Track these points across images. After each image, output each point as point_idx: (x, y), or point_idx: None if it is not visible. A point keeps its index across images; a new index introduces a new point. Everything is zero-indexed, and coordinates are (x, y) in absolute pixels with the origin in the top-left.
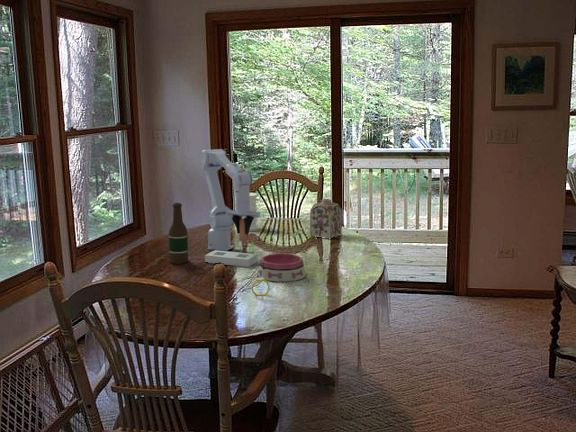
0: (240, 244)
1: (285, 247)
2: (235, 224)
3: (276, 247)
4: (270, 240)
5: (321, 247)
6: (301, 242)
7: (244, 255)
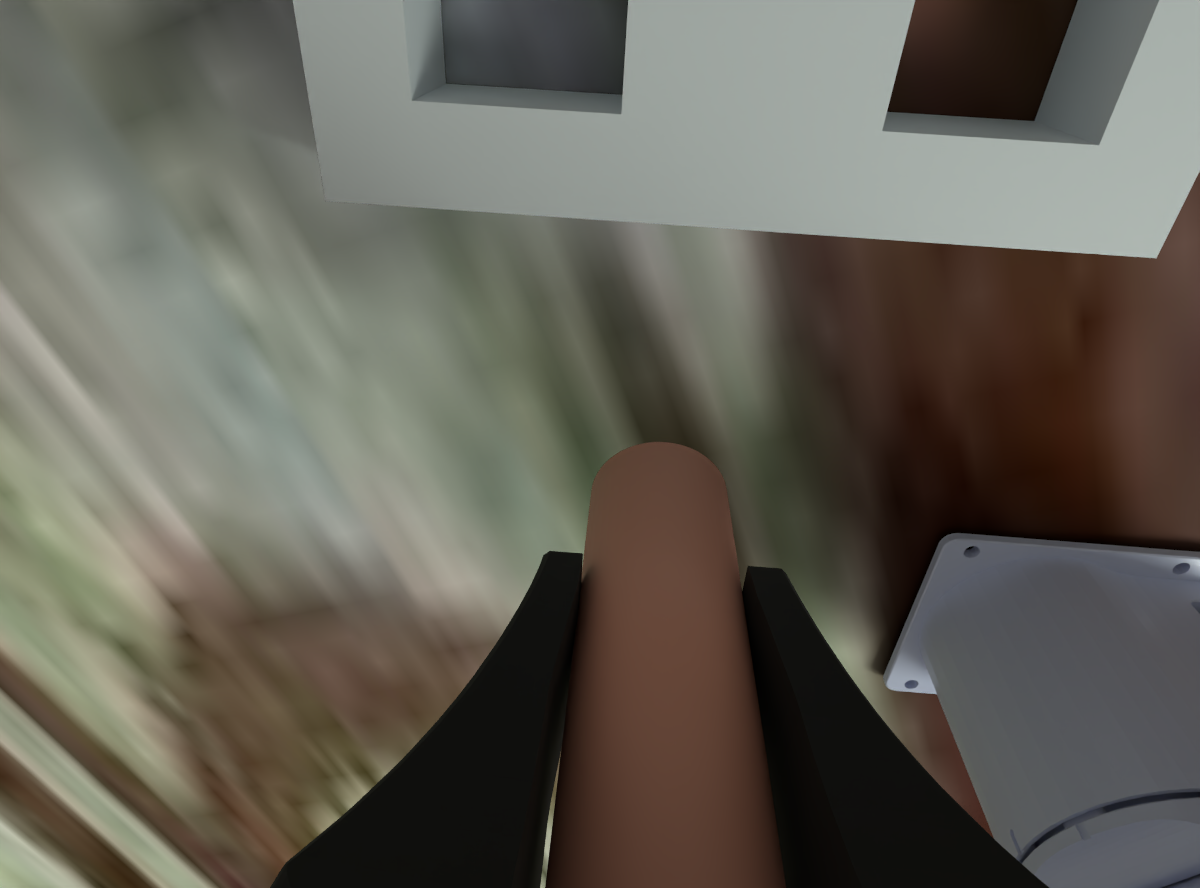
0: None
1: (380, 743)
2: (890, 751)
3: None
4: None
5: (108, 782)
6: None
7: (523, 105)
